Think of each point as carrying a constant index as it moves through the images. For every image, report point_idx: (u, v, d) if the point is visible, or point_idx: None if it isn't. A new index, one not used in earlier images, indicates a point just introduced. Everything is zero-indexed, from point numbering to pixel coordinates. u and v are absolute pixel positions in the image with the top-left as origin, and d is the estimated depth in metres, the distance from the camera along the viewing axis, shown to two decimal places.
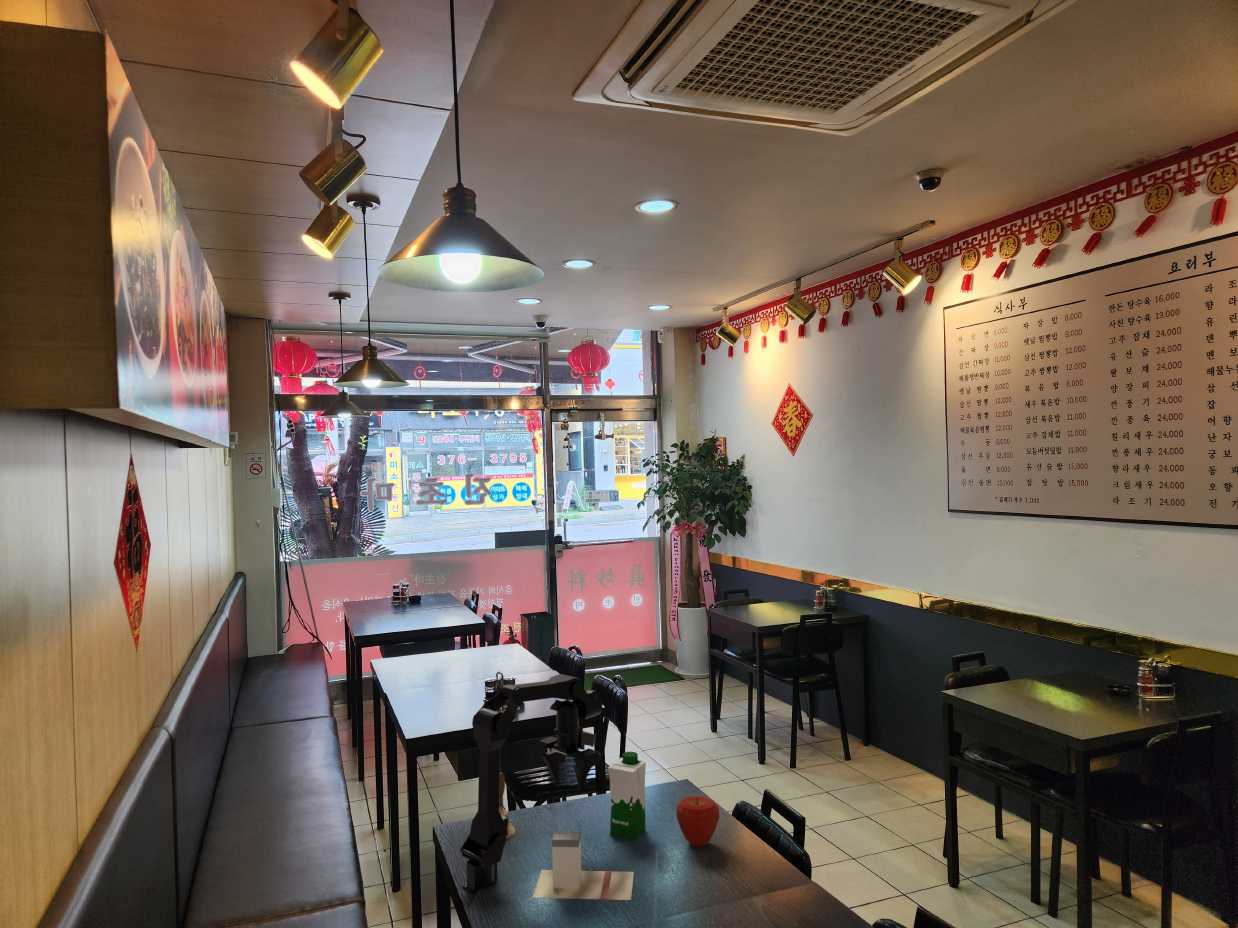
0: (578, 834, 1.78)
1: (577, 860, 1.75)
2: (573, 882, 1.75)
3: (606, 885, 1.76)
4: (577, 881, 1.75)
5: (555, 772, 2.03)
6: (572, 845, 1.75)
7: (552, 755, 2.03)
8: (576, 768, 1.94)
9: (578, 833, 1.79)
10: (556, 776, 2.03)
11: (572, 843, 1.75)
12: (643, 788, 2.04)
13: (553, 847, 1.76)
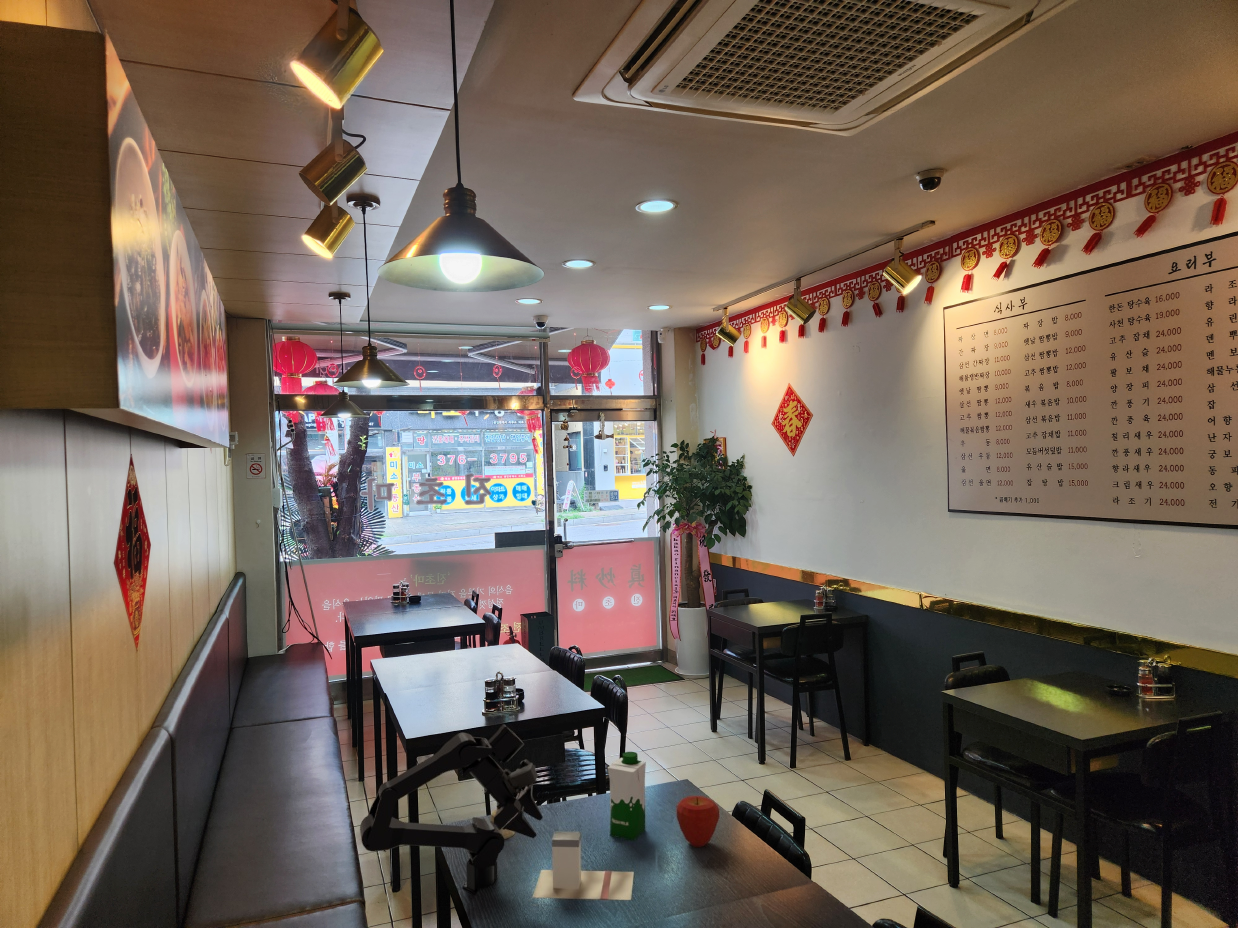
0: (578, 834, 1.78)
1: (577, 860, 1.75)
2: (573, 882, 1.75)
3: (606, 885, 1.76)
4: (577, 881, 1.75)
5: (533, 813, 1.83)
6: (572, 845, 1.75)
7: (520, 799, 1.84)
8: None
9: (578, 833, 1.79)
10: (538, 815, 1.83)
11: (572, 843, 1.75)
12: (643, 788, 2.04)
13: (553, 847, 1.76)
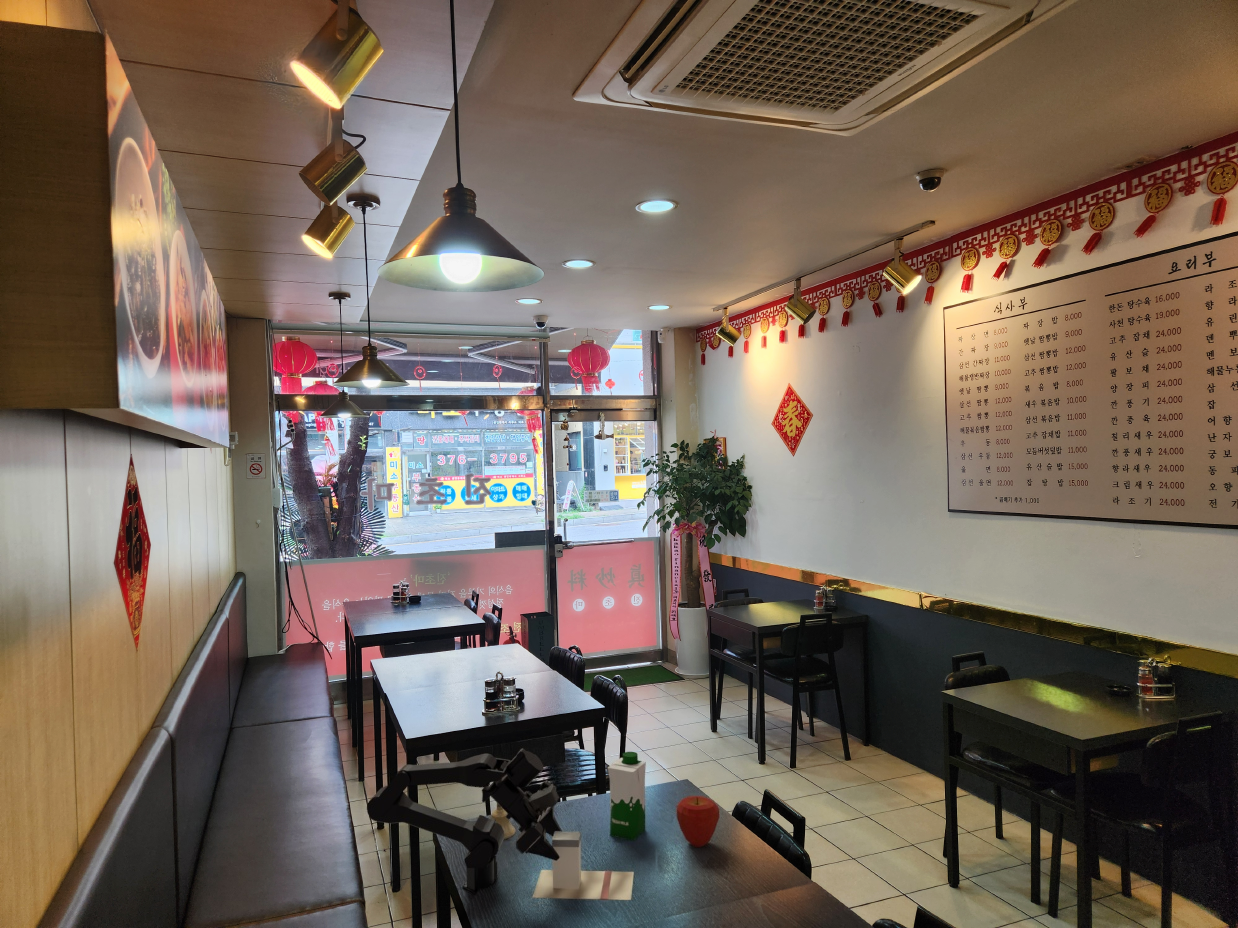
0: (578, 834, 1.78)
1: (577, 860, 1.75)
2: (573, 882, 1.75)
3: (606, 885, 1.76)
4: (577, 881, 1.75)
5: None
6: (572, 845, 1.75)
7: (542, 820, 1.83)
8: None
9: (578, 833, 1.79)
10: None
11: (572, 843, 1.75)
12: (643, 788, 2.04)
13: (553, 847, 1.76)
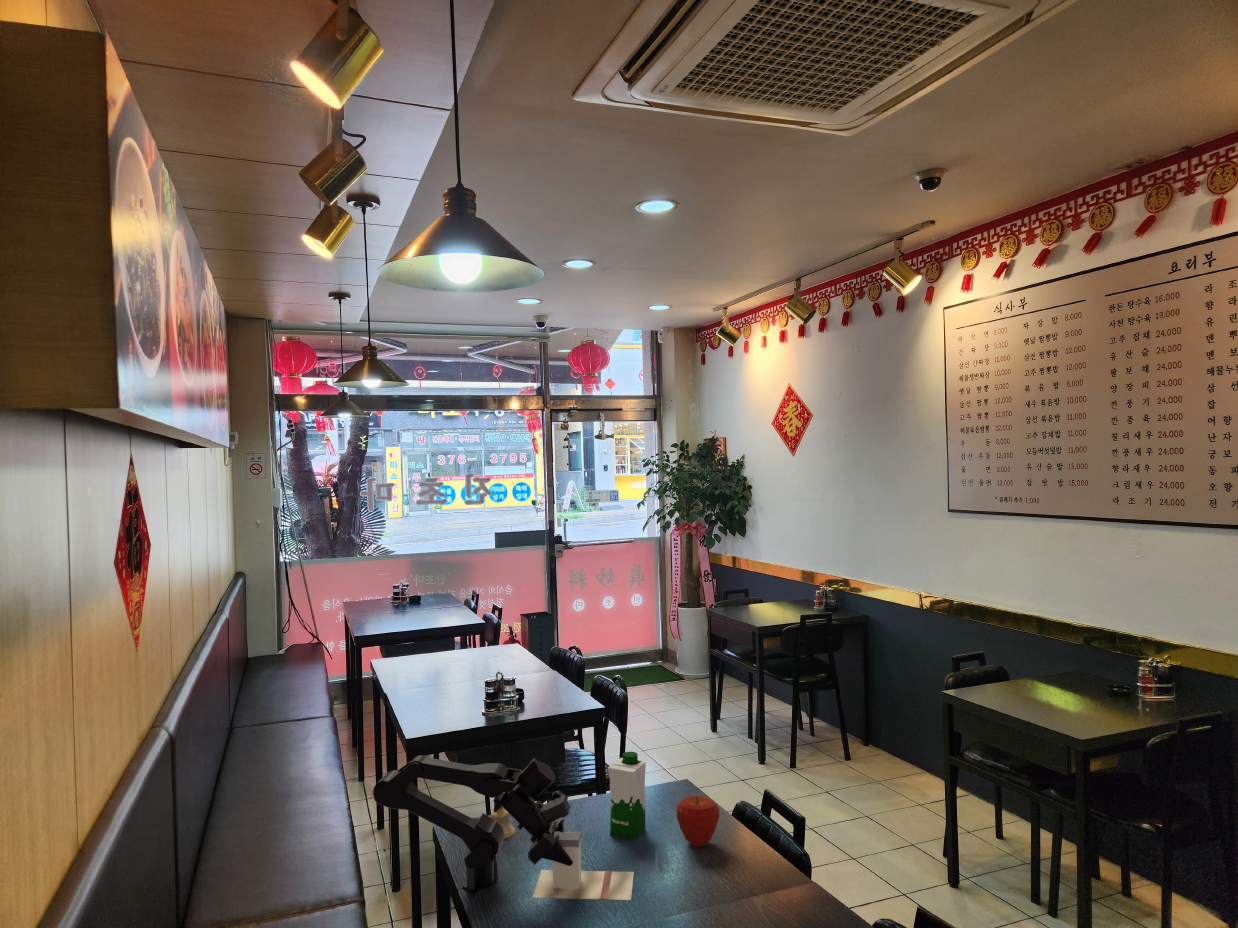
0: (578, 834, 1.78)
1: (577, 860, 1.75)
2: (573, 882, 1.75)
3: (606, 885, 1.76)
4: (577, 881, 1.75)
5: None
6: (572, 845, 1.75)
7: (552, 835, 1.80)
8: None
9: (578, 833, 1.79)
10: None
11: (572, 843, 1.75)
12: (643, 788, 2.04)
13: None
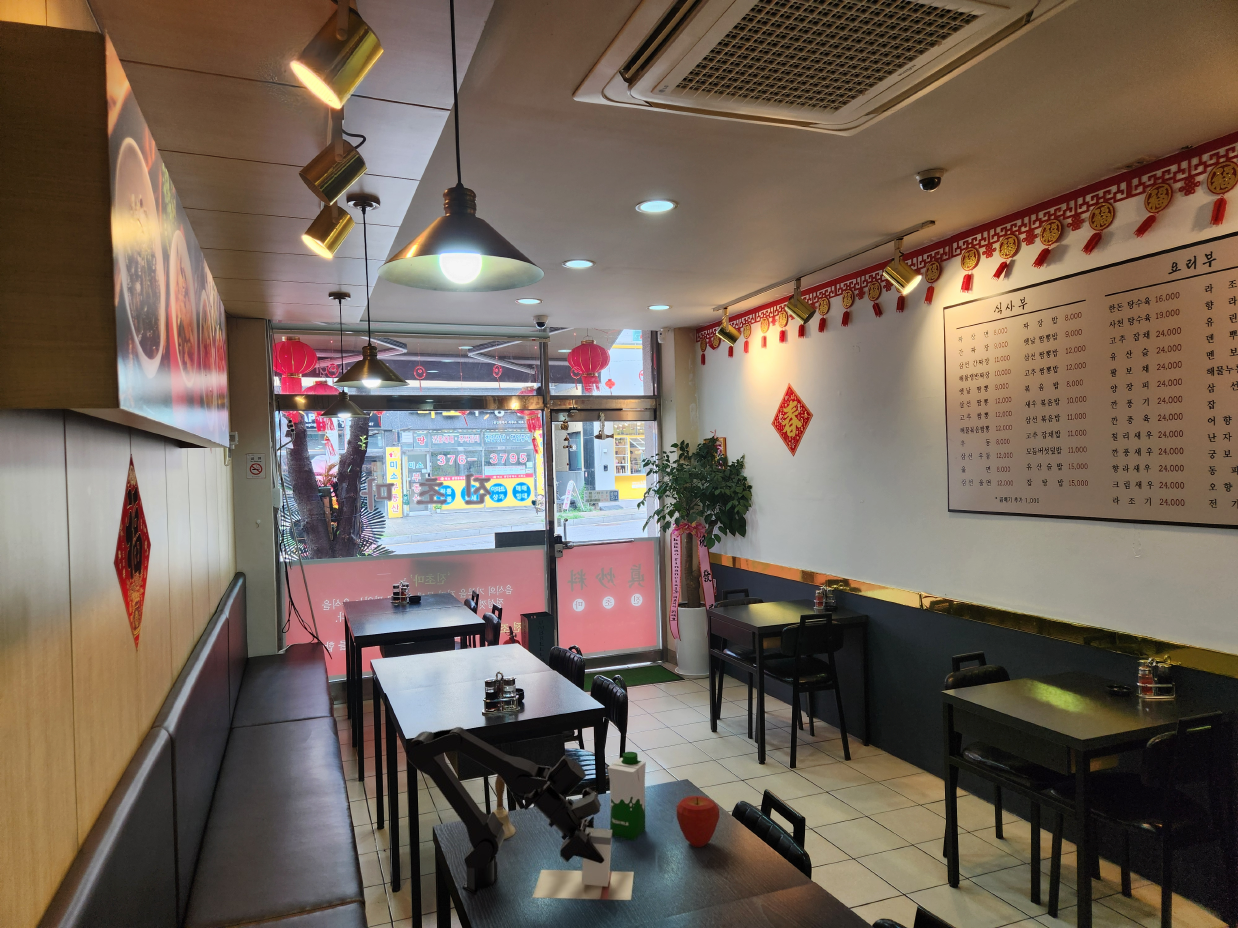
0: (610, 832, 1.78)
1: (608, 858, 1.75)
2: (602, 880, 1.75)
3: None
4: (606, 879, 1.75)
5: None
6: (604, 842, 1.75)
7: None
8: None
9: (610, 831, 1.78)
10: None
11: (604, 840, 1.75)
12: (643, 788, 2.04)
13: None
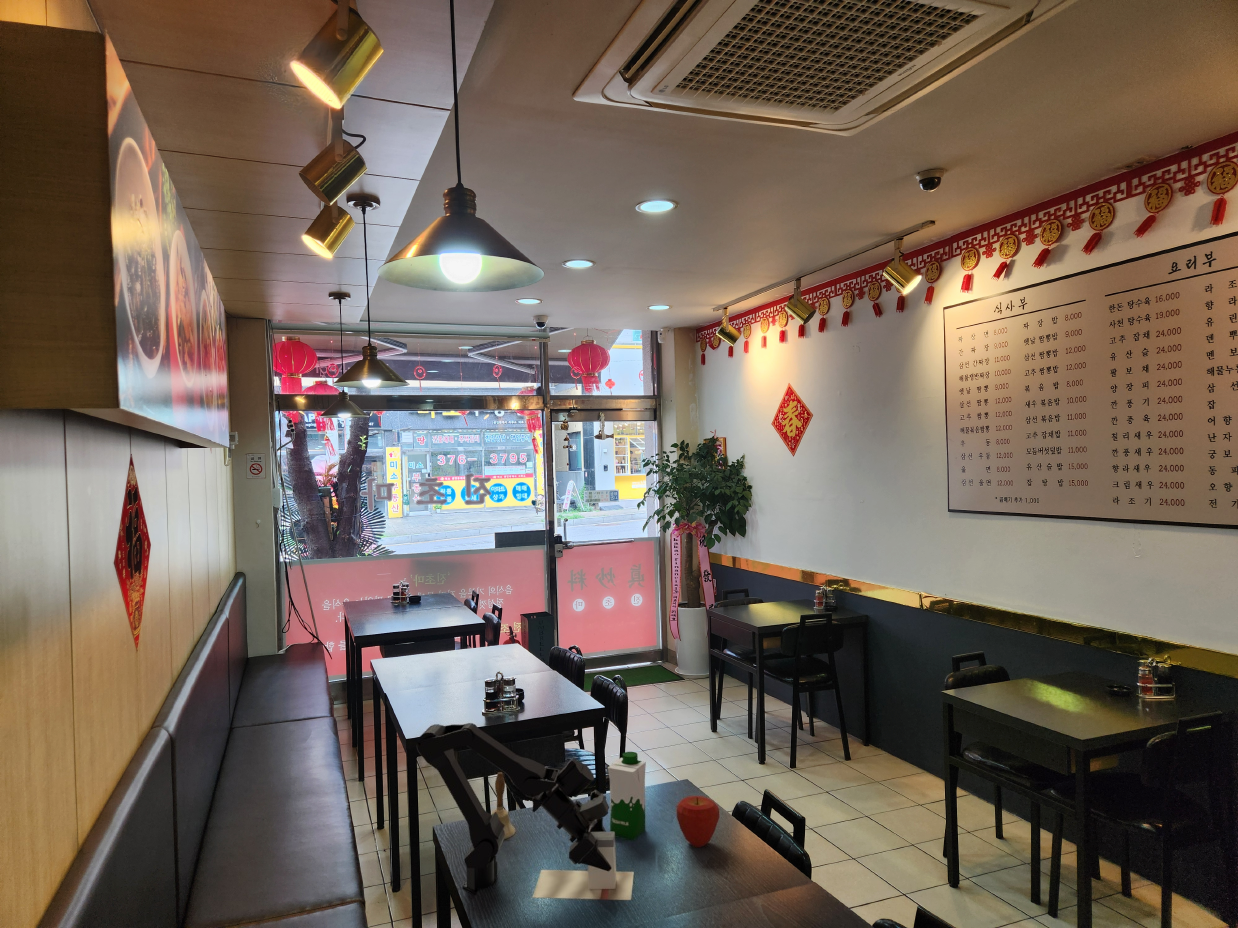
0: (612, 834, 1.78)
1: (612, 860, 1.75)
2: (609, 882, 1.75)
3: None
4: (613, 881, 1.75)
5: None
6: (607, 845, 1.75)
7: (591, 830, 1.82)
8: None
9: (612, 833, 1.78)
10: None
11: (607, 843, 1.75)
12: (643, 788, 2.04)
13: None
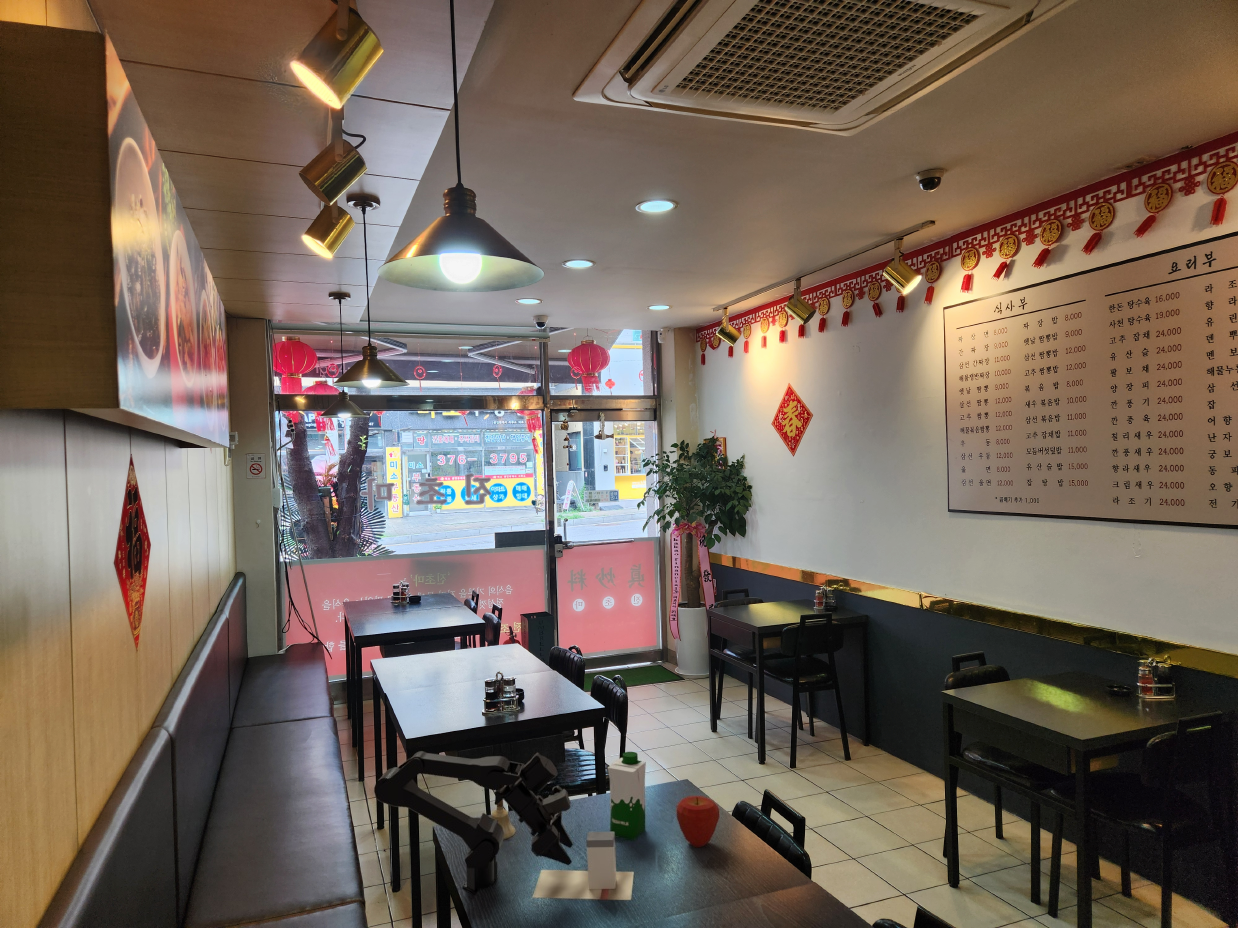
0: (612, 834, 1.78)
1: (612, 860, 1.75)
2: (609, 882, 1.75)
3: None
4: (613, 881, 1.75)
5: (564, 840, 1.83)
6: (607, 845, 1.75)
7: None
8: None
9: (612, 833, 1.78)
10: (568, 842, 1.83)
11: (607, 843, 1.75)
12: (643, 788, 2.04)
13: (588, 848, 1.75)
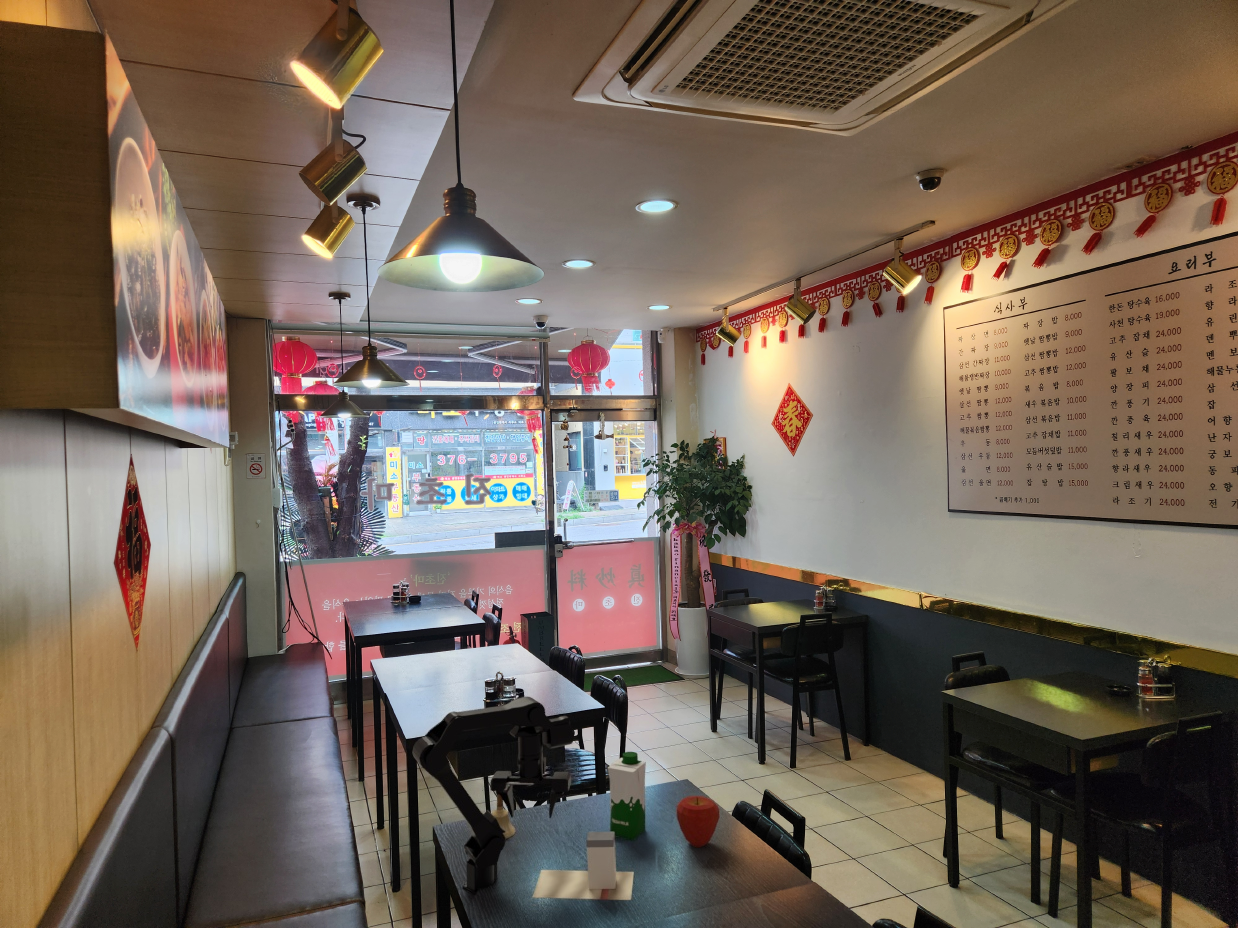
0: (612, 834, 1.78)
1: (612, 860, 1.75)
2: (609, 882, 1.75)
3: None
4: (613, 881, 1.75)
5: (512, 808, 1.85)
6: (607, 845, 1.75)
7: (509, 790, 1.85)
8: (554, 795, 1.82)
9: (612, 833, 1.78)
10: (513, 811, 1.86)
11: (607, 843, 1.75)
12: (643, 788, 2.04)
13: (588, 848, 1.75)
